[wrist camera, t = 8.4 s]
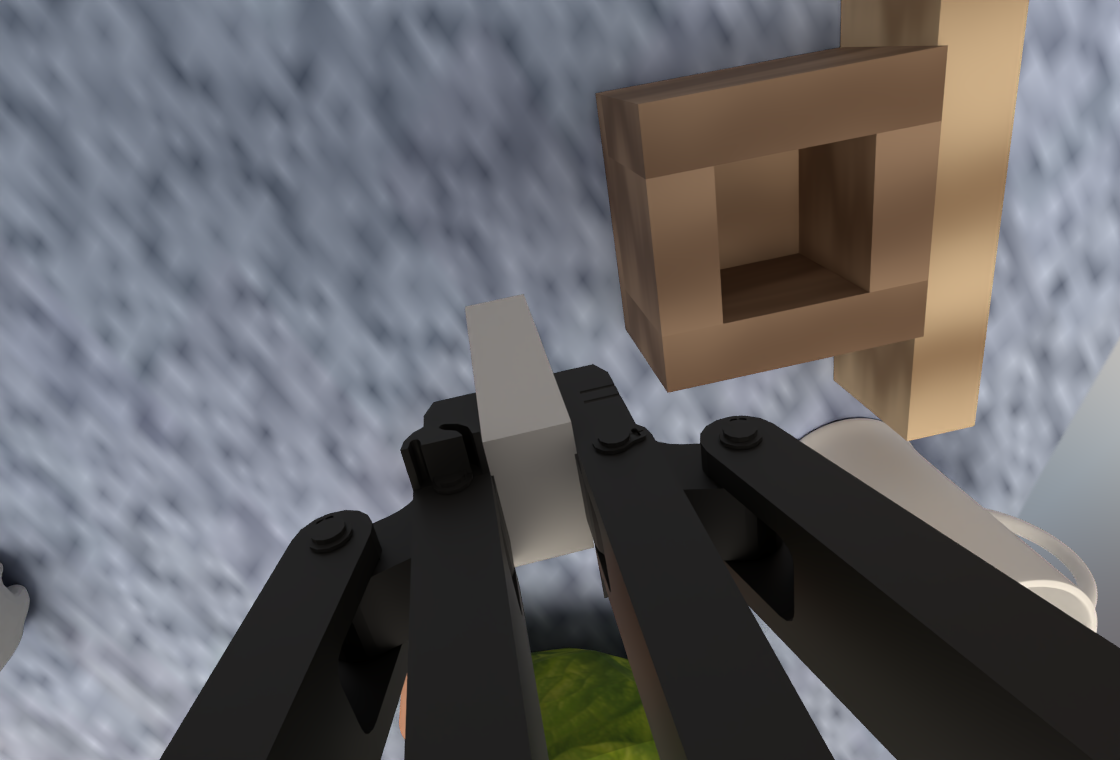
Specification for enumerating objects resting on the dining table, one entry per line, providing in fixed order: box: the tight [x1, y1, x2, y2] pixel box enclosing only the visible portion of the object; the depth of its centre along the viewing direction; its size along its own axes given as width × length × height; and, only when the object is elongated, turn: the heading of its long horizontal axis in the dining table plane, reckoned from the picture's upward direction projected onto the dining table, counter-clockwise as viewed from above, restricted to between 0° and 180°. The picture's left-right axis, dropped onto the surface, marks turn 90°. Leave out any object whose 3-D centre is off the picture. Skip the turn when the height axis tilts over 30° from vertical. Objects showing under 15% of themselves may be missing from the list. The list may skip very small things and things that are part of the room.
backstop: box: [834, 0, 1029, 441], centre depth 27 cm, size 20×3×6 cm, turn 9°
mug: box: [799, 418, 1097, 632], centre depth 32 cm, size 12×8×12 cm
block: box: [595, 45, 948, 392], centre depth 26 cm, size 10×10×6 cm
